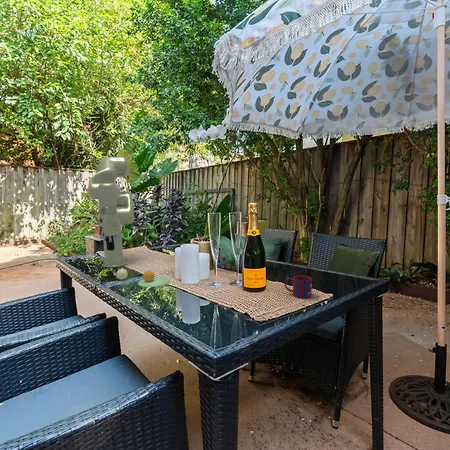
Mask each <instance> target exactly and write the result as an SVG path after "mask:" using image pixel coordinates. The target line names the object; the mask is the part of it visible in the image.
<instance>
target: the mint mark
mask: <svg viewBox="0 0 450 450" xmlns="http://www.w3.org/2000/svg"><path fill="white" fill-rule="evenodd" d="M169 282H170V283H171V279H170V278H168V277H162V276H161V277H160V276H159V277H158V276H156V277H154V279H153V280H152V281H150V282H147V281H145V280H144V279H141V280H139V281H138V282H137V285H138V286H140V287H143V288H157V287H163V286H165V285H166V286H167V285H168V284H170V283H169Z"/></svg>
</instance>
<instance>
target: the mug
mask: <svg viewBox="0 0 450 450" xmlns="http://www.w3.org/2000/svg"><path fill="white" fill-rule="evenodd" d="M287 280H291V282H292V289H290V288H289V287H288V286H287ZM312 281H313V279H312V277H310V276H309V275H295V276H293V278H292V277H286V278H285V279H284V283H283V284H284V287H285V289H286V290H287V291H288V292H291V293H292V296H293V297H294V298H297V299H300V298H301V300H303V299H304V300H305V299H307V300H308V299H310V298H311V297H312V296H313V295H312V294H313V293H312V289H313V287H312V286H313V285H312Z"/></svg>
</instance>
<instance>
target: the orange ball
mask: <svg viewBox="0 0 450 450" xmlns="http://www.w3.org/2000/svg"><path fill="white" fill-rule="evenodd" d="M155 275H156V274H155V272H154V271H152V270H146V271H144V272H143V274H142V278H143V279H144V280H145V281H147V282H150V281H152V280H153V279H154V277H155ZM143 279H142V280H143Z"/></svg>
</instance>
